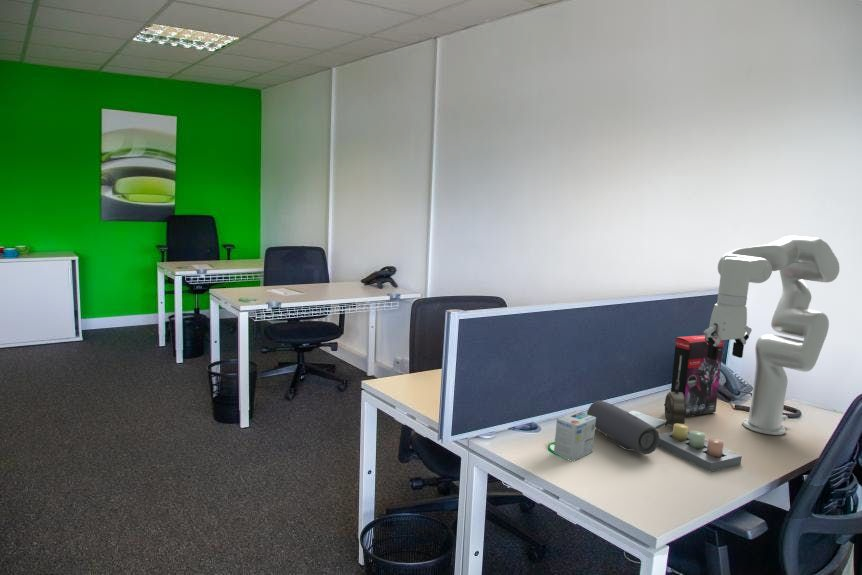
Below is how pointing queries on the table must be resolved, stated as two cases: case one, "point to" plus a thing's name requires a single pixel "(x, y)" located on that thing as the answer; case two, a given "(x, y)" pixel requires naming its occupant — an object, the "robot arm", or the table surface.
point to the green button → (697, 439)
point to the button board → (698, 453)
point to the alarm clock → (675, 407)
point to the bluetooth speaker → (624, 428)
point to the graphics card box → (696, 374)
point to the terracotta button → (715, 448)
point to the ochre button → (680, 432)
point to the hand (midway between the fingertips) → (724, 357)
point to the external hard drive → (649, 419)
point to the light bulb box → (574, 435)
